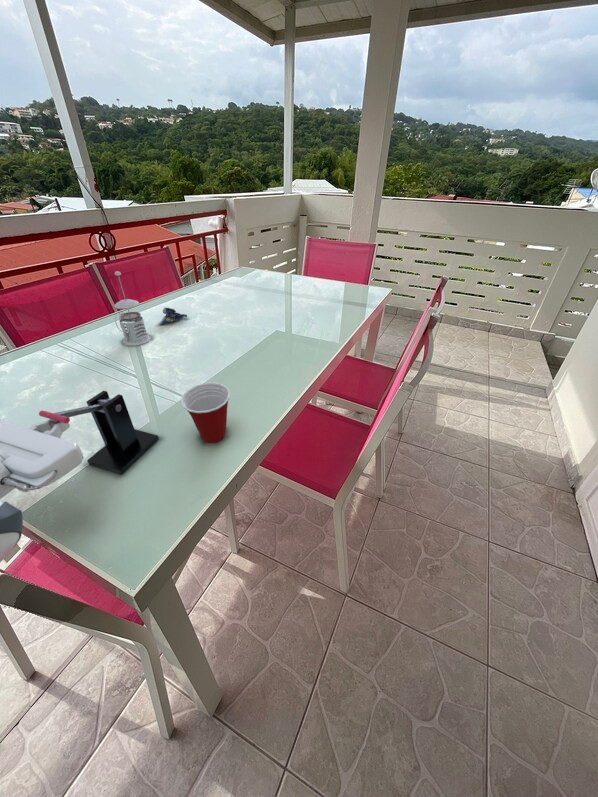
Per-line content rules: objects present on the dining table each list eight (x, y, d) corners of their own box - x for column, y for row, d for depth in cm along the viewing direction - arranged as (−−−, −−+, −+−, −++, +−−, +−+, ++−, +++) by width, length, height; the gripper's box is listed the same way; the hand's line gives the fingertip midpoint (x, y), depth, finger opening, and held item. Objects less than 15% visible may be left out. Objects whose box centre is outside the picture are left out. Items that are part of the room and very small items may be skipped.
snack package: (154, 319, 143) (159, 327, 134) (153, 304, 140) (158, 311, 131) (183, 318, 149) (189, 327, 140) (183, 304, 146) (189, 312, 137)
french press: (156, 336, 128) (139, 268, 113) (137, 349, 118) (115, 277, 104) (134, 333, 130) (114, 266, 115) (113, 345, 120) (89, 275, 106)
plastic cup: (180, 441, 78) (169, 400, 72) (210, 417, 86) (203, 377, 80) (216, 457, 74) (208, 414, 68) (244, 429, 82) (239, 389, 75)
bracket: (121, 474, 70) (97, 420, 61) (88, 464, 72) (61, 410, 64) (159, 439, 79) (143, 387, 71) (128, 430, 81) (109, 379, 73)
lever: (64, 427, 57) (64, 414, 56) (38, 420, 58) (38, 407, 58) (124, 412, 69) (124, 401, 68) (101, 406, 71) (101, 395, 70)
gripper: (21, 479, 45) (102, 419, 55) (-77, 444, 50) (15, 396, 61) (41, 508, 48) (113, 447, 59) (-52, 473, 53) (30, 422, 64)
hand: (62, 421), depth 60 cm, fingers closed, pressing on lever
